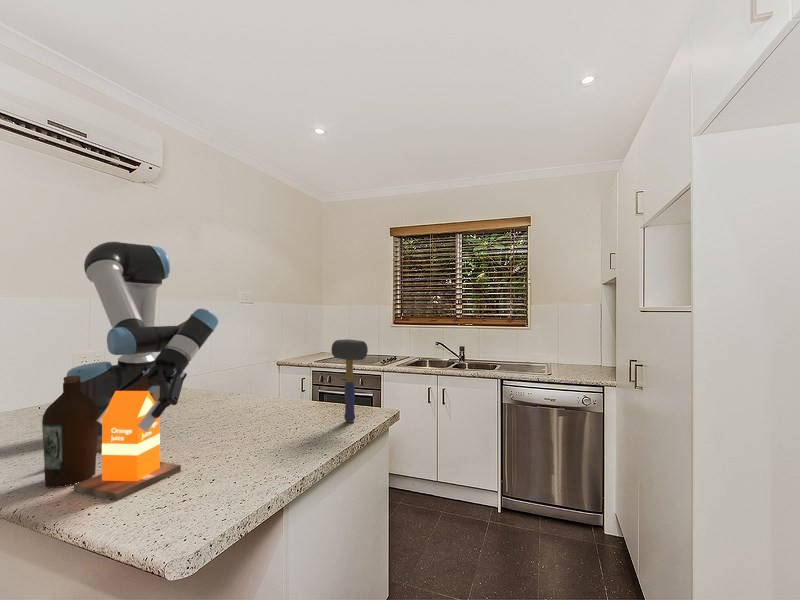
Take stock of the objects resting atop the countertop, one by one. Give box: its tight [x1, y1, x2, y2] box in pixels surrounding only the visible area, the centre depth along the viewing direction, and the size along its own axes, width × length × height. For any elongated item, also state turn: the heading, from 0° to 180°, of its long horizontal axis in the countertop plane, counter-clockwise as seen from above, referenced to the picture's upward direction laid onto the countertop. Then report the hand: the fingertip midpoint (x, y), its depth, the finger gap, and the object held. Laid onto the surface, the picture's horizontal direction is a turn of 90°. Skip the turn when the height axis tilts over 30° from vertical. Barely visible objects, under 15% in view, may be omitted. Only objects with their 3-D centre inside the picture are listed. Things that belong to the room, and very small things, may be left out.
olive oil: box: [41, 376, 99, 488], centre depth 95 cm, size 11×11×25 cm
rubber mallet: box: [331, 338, 369, 423], centre depth 141 cm, size 12×8×30 cm, turn 59°
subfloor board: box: [73, 461, 182, 502], centre depth 93 cm, size 14×16×2 cm
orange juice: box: [101, 391, 161, 481], centre depth 93 cm, size 8×9×20 cm
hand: (121, 426), depth 91 cm, fingers open, 13 cm apart
